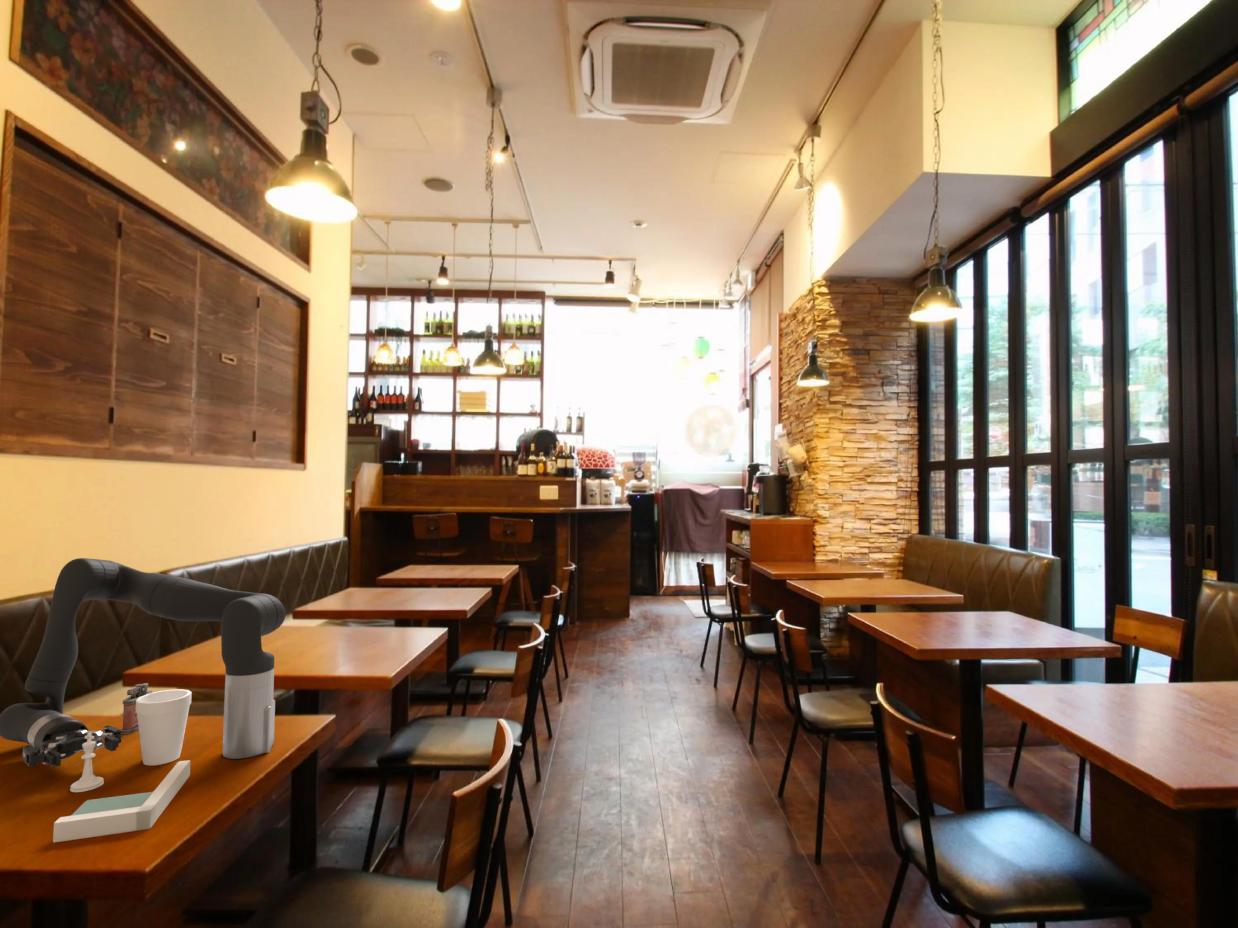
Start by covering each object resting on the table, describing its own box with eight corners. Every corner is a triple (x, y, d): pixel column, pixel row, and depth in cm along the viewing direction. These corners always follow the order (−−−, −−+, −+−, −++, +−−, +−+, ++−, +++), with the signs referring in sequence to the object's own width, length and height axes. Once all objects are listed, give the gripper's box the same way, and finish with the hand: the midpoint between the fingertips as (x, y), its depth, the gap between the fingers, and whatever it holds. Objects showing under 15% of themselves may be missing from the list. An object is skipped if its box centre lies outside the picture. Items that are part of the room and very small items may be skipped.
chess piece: (84, 793, 116) (86, 738, 117) (62, 790, 117) (65, 736, 118) (110, 781, 121) (112, 728, 122) (89, 779, 122) (92, 726, 123)
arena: (189, 775, 124) (190, 759, 124) (150, 828, 104) (150, 809, 104) (103, 785, 119) (104, 769, 119) (45, 843, 99) (46, 824, 100)
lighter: (140, 721, 153) (142, 680, 154) (155, 721, 153) (156, 679, 154) (117, 734, 145) (118, 690, 146) (132, 733, 145) (134, 689, 146)
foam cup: (141, 753, 134) (144, 692, 135) (193, 747, 138) (195, 687, 138) (127, 771, 125) (130, 705, 126) (182, 764, 129) (185, 699, 130)
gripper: (11, 727, 123) (39, 745, 114) (100, 707, 135) (132, 721, 126) (9, 766, 123) (37, 787, 114) (99, 742, 134) (131, 759, 126)
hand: (87, 752), depth 120 cm, fingers open, 8 cm apart
